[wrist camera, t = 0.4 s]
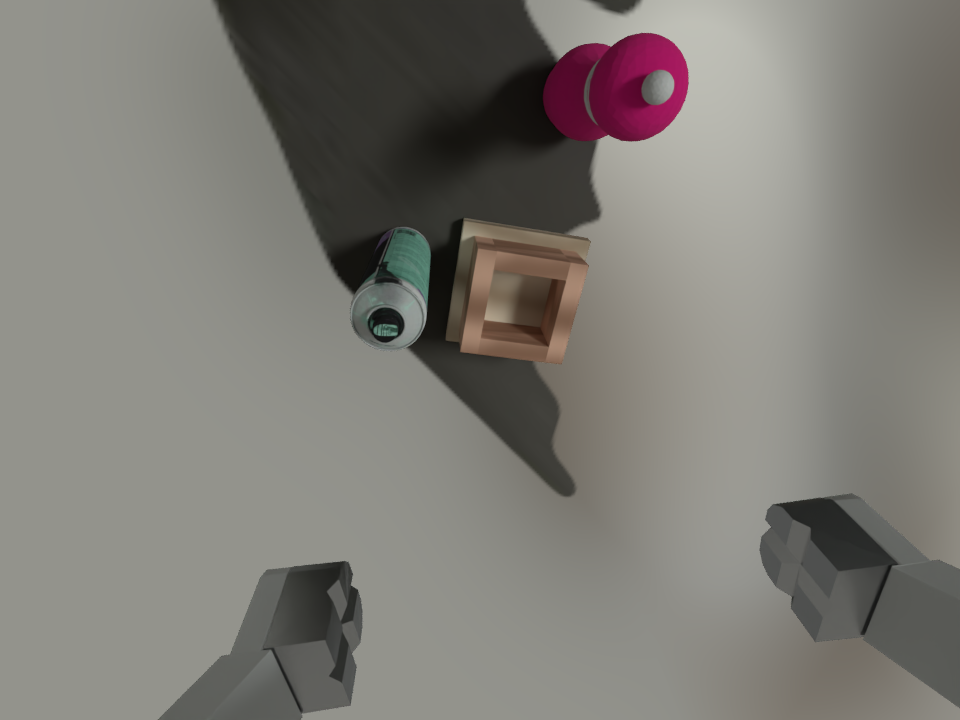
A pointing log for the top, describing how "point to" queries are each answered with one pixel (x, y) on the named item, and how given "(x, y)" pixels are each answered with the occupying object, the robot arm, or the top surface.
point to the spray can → (393, 291)
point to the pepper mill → (617, 89)
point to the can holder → (516, 291)
